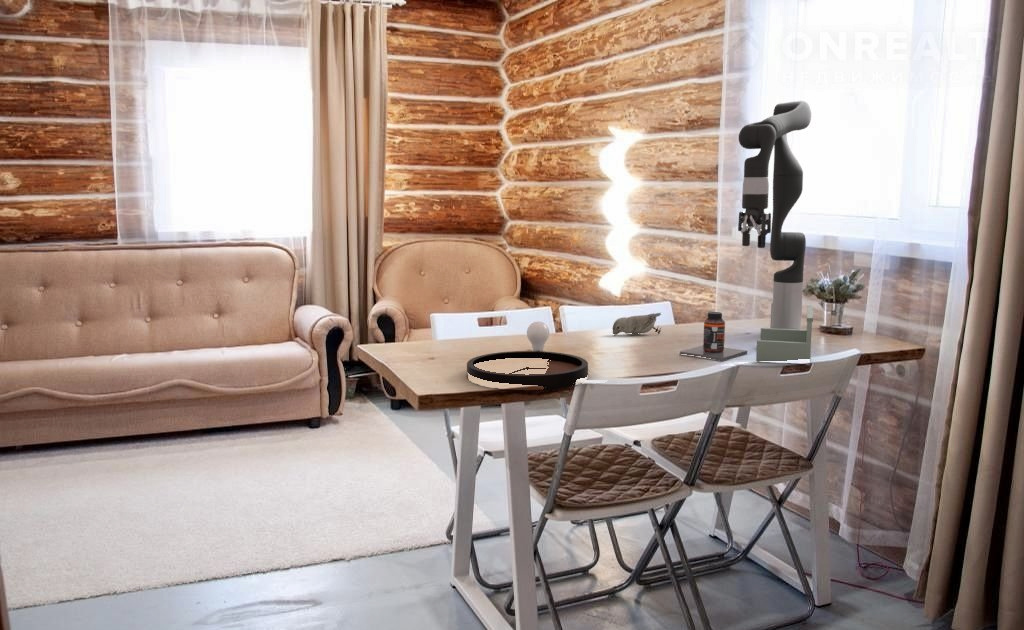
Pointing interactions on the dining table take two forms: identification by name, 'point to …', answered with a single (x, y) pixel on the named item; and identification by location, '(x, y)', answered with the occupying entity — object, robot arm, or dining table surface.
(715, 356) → the slate tile
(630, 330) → the decorative bird
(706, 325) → the supplement bottle
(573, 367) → the wall clock
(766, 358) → the sage green open tray
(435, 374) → the dining table surface
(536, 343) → the lightbulb
